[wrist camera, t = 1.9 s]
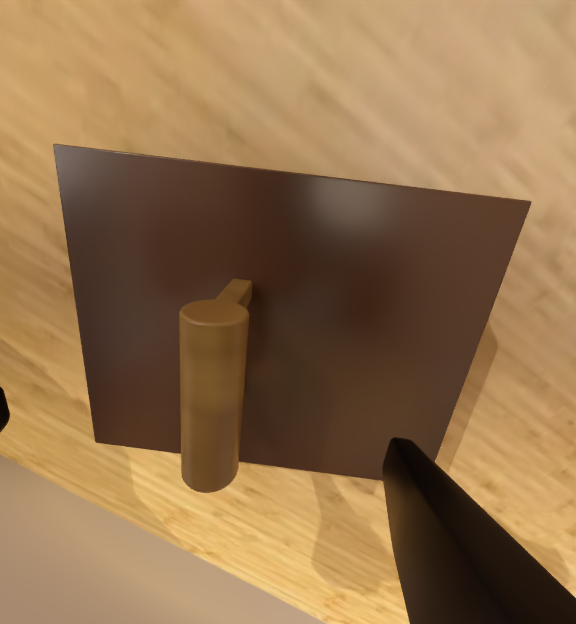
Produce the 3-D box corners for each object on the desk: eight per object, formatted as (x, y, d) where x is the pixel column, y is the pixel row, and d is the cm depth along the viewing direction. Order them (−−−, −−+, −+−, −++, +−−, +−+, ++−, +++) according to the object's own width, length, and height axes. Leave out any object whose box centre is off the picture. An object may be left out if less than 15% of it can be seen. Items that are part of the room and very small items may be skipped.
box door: (105, 429, 14) (8, 544, 10) (71, 147, 10) (-132, 107, 5) (419, 471, 14) (475, 609, 9) (515, 200, 10) (701, 207, 5)
